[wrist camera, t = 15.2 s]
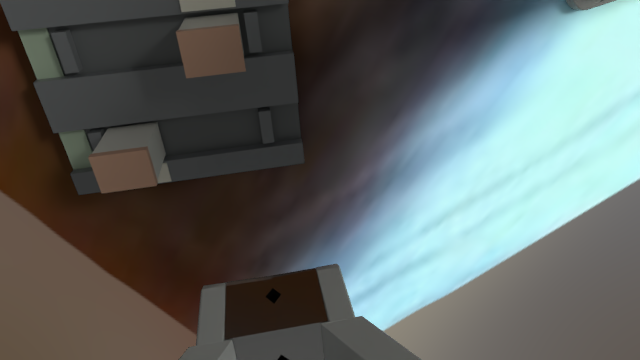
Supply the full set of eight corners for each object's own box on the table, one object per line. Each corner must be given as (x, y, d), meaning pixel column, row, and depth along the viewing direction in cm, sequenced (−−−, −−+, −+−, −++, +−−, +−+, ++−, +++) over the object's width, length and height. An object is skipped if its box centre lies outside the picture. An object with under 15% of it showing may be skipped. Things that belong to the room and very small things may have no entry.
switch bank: (282, -30, 35) (285, -27, 33) (301, 151, 43) (304, 164, 41) (14, -5, 33) (-2, 0, 31) (86, 181, 41) (78, 195, 39)
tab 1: (157, 121, 37) (146, 149, 33) (166, 154, 39) (156, 185, 34) (107, 127, 37) (88, 157, 32) (118, 160, 38) (101, 193, 34)
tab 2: (238, 11, 34) (238, 25, 29) (244, 52, 36) (245, 71, 31) (184, 17, 34) (175, 32, 29) (192, 57, 35) (186, 78, 31)
